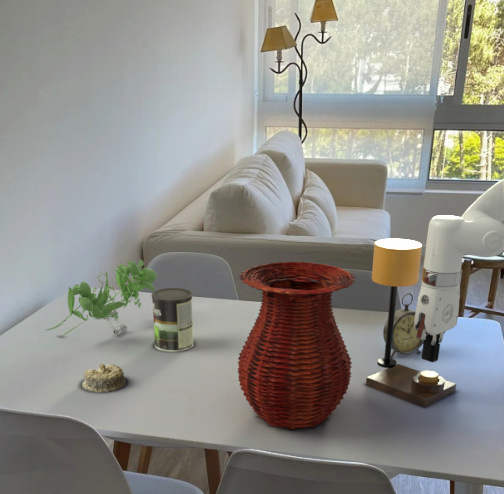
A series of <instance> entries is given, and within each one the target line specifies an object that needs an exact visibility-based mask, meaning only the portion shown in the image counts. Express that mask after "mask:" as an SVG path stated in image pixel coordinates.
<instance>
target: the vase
mask: <svg viewBox="0 0 504 494" xmlns="http://www.w3.org/2000/svg"><path fill="white" fill-rule="evenodd" d="M238 277H239V280H241V281H242V284H245V285H247V286H248V287H250V288H253V289H256V290H258V291H261V294H262V296H261V298H262V299H261V303H260V308H259V309H258V311H259V312H258V315H257V317H256V318H255V322H253V324H254V325H253V326H252V329H250V332H249V333H248V336H247V337H246V339H247V340H245V341H244V345H243V346H242V349H241V350H240V353H238V355H239V357H238V359H237V360H238V361H237V364H238V368H237V374H238V376H237V377H238V380H237V381H238V382H239V386H240V390H241V391H243V393H242V395H243V396H244V397H245V399H246V400H245V401H247V402H248V404H249V406H250V407H251V408H252V410H253V412H254V413H256V415H257V416H258V418H260V419H261V420H262V421H264V422H265V423H267V424H268V425H270V426H271V427H272V426H273V427H277V428H283V429H288V430H299V429H307V428H315V427H316V426H318V425H319V424H321V423H324V422H325V421H326V420H327V419H328V417H330V416H331V415H332V414H333V412H334V411H335V410H336V409H337V408H338V406H339V405H340V404H341V401H342V400H344V399H345V398H344V396H345V395H346V394H347V390H349V386H350V384H351V383H350V382H351V377H352V372H351V369H352V363H353V362H352V361H351V360H352V358H351V357H350V354H349V353H348V352H349V350H348V349H347V345H346V344H345V340H343V336H342V333H341V332H340V329H339V326H338V324H337V322H336V319H335V316H334V312H333V311H334V308H332V307H333V305H332V303H333V302H332V300H333V298H332V296H333V295H332V294H333V293H334V292H338V291H340V290H343V289H347V288H349V287H350V286H353V283H355V282H356V276H355V274H354V273H352V272H350V271H349V270H345V269H343V268H342V267H339V266H336V265H335V266H334V265H328V264H325V263H316V262H305V261H285V262H279V261H277V262H270V263H265V264H264V263H263V264H258V265H256V266H250V268H246V269H245V270H244V271H242V272H240V275H238Z"/></svg>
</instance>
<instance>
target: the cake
mask: <svg viewBox="0 0 504 494" xmlns="http://www.w3.org/2000/svg"><path fill="white" fill-rule="evenodd" d="M123 371H124V370H123V368H121V367H120V366H118V365H116V364H112V363H107V364H106V365H105V364H103V363H100V364H99V368H98V369H92V368H91V369H86V370H84V372H83V381H82V382H81V386H82V388H83V389H84V390H88V391H89V392H95V393H104V392H105V393H108V392H114V391H117V390H119V389H121V388H123V387H125V385H126V384H127V380H126V378H125V376H124V372H123Z"/></svg>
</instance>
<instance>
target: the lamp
mask: <svg viewBox="0 0 504 494" xmlns="http://www.w3.org/2000/svg"><path fill="white" fill-rule="evenodd" d="M422 247H423V245H422V243H421V242H419V241H416V240H412V239H406V238H405V239H404V238H383V239H379V240H376V241H374V245H373V257H372V269H371V270H372V271H371V281H372V282H373V283H375V284H378V285H382V286H386V287H390V293H389V301H388V302H389V304H388V313H387V320H388V323H387V334H386V343H385V345H384V357H381V358H379V359H377V360H376V361H377V362H376V364H377V366H378V367H380V368H383V369H387V368H393V367H395V366H396V365H397V364H398V363H397V360H396V359H394V358H391V354H392V349H391V348H392V337H393V327H394V316H395V312H396V306H397V305H396V304H397V296H398V287H401V288H402V287H411V286H414V285H417V284H418V282H419V275H420V265H421V259H422V249H423V248H422Z"/></svg>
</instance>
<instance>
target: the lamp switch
mask: <svg viewBox="0 0 504 494" xmlns="http://www.w3.org/2000/svg"><path fill="white" fill-rule="evenodd" d="M438 376H440V374H439V373H438V372H436V371H434V370H422V371H420V378H419V381H421V382H424V383H429V384H433V383H437V382H438Z"/></svg>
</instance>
